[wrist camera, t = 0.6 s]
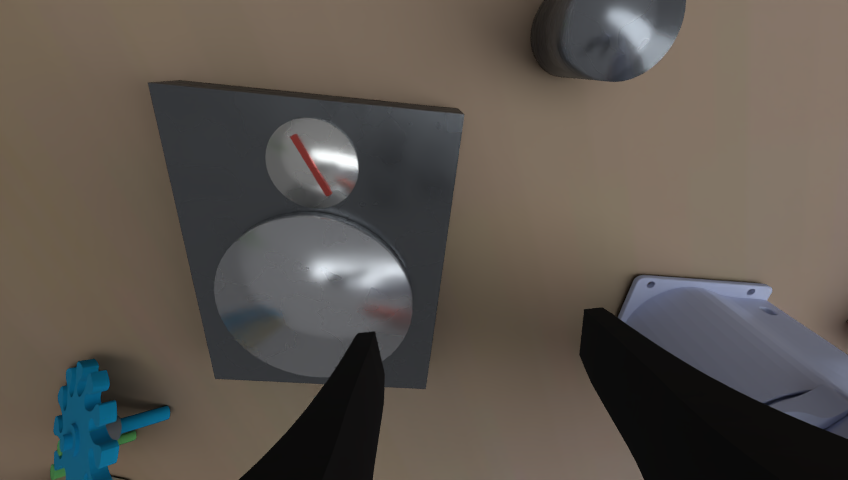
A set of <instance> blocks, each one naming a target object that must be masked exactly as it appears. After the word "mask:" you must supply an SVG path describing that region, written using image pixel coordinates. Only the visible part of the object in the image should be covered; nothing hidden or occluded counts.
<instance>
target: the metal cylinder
mask: <svg viewBox="0 0 848 480" xmlns="http://www.w3.org/2000/svg"><path fill="white" fill-rule="evenodd" d="M685 5H686V0H544V1H543V3H542V4H541V6H540V7H539V9H538V11H537V13H536V15H535V18H534V20H533V24H532V28H531V47H532V52H533V54H534V57H535V59H536V61H537V62H538V64H539V65H540V66H541V67H542V68H543V69H544V70H545V71H546V72H548V73H550V74H552V75H554V76H558V77H567V78H577V79H588V80H599V81H610V82H618V81H625V80H629V79H632V78H634V77H637V76H639V75H641V74H643V73H645V72H646V71H647V70H649V69H650V68H652V67H653V66H654V65H655V64H656V63H658V62H659V60H660V59H661V58H662V57H663V56H664V55H665V54H666V53H667V51H668V50H669V49H670V47H671V46H672V44H673V42H674V41H675V39H676V37H677V35H678V32H679V30H680V28H681V25H682V21H683V18H684V13H685Z"/></svg>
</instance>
